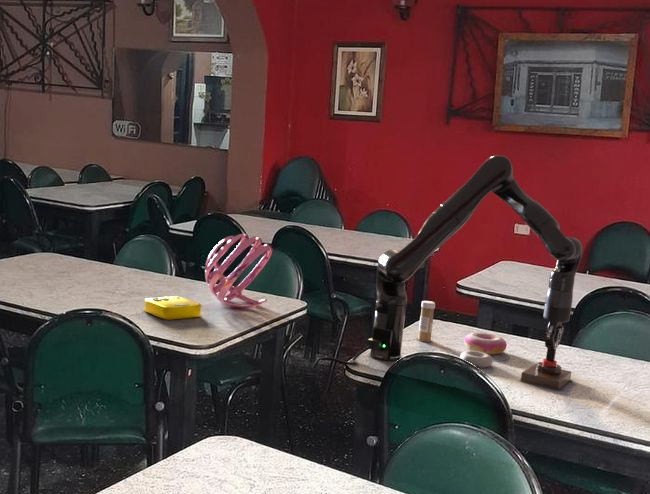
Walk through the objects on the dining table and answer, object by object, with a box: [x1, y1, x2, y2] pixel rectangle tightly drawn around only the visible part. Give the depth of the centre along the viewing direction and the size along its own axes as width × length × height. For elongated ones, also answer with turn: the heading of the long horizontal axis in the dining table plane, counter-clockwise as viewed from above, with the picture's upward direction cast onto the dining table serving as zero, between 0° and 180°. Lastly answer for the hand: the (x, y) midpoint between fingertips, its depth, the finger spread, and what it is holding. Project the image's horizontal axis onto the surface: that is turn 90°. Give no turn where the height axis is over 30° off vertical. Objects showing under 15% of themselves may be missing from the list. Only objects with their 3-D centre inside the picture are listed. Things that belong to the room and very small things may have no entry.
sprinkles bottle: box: [417, 300, 436, 343], centre depth 290 cm, size 5×5×14 cm
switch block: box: [520, 361, 572, 391], centre depth 254 cm, size 14×11×4 cm
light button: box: [542, 358, 558, 368], centre depth 255 cm, size 4×4×2 cm
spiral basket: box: [204, 233, 274, 309], centre depth 318 cm, size 28×28×27 cm
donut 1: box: [464, 332, 507, 356], centre depth 284 cm, size 14×13×5 cm
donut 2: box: [459, 350, 493, 369], centre depth 266 cm, size 10×4×10 cm
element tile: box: [144, 295, 202, 321], centre depth 296 cm, size 15×15×5 cm
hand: (550, 360), depth 255 cm, fingers closed
